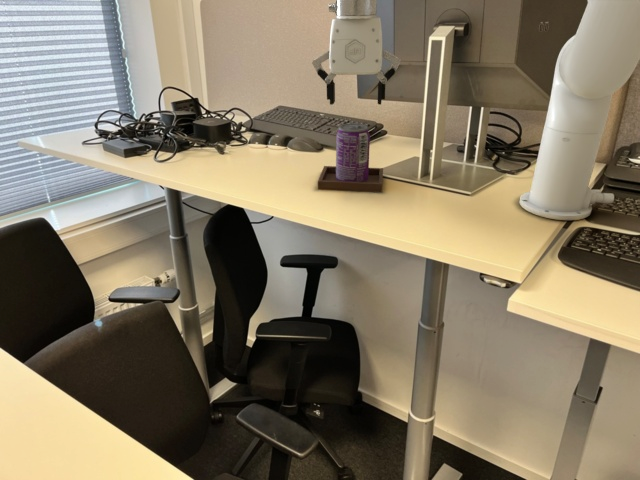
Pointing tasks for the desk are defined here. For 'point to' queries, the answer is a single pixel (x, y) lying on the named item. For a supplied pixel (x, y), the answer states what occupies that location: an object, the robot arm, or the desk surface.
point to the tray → (331, 183)
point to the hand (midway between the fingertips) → (355, 103)
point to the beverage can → (352, 152)
